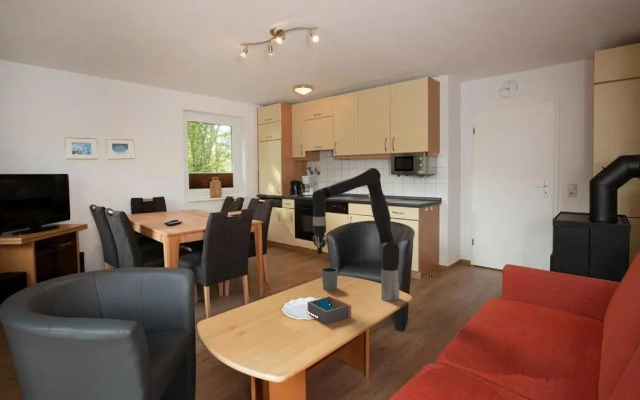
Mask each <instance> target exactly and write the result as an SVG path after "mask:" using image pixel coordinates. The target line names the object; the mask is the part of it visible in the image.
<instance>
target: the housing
mask: <svg viewBox="0 0 640 400" xmlns="http://www.w3.org/2000/svg"><path fill="white" fill-rule="evenodd" d="M322 298H324V299H325V300H324V302H326V299H328V300H329V297H328V296H325V297H322ZM322 298H317V299H314V300H310V301H307V312H308V311H309V312H310V313H312V314H314V315H316V316H318V319H317V320H318V321H320V322H322V323H323V324H325V325H329V324H332V323H335V322H338V321H342V320H344V319H347V318H348V317H347V305H345V306H342V307H338V308H335V309H332V310H328V311H326V310H324V309H322V308H320V307H319V306H317V305H316V304H317V303H319V302H318V300H321V303H322ZM327 303H329V301H328V302H327ZM319 305H320V303H319Z"/></svg>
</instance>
